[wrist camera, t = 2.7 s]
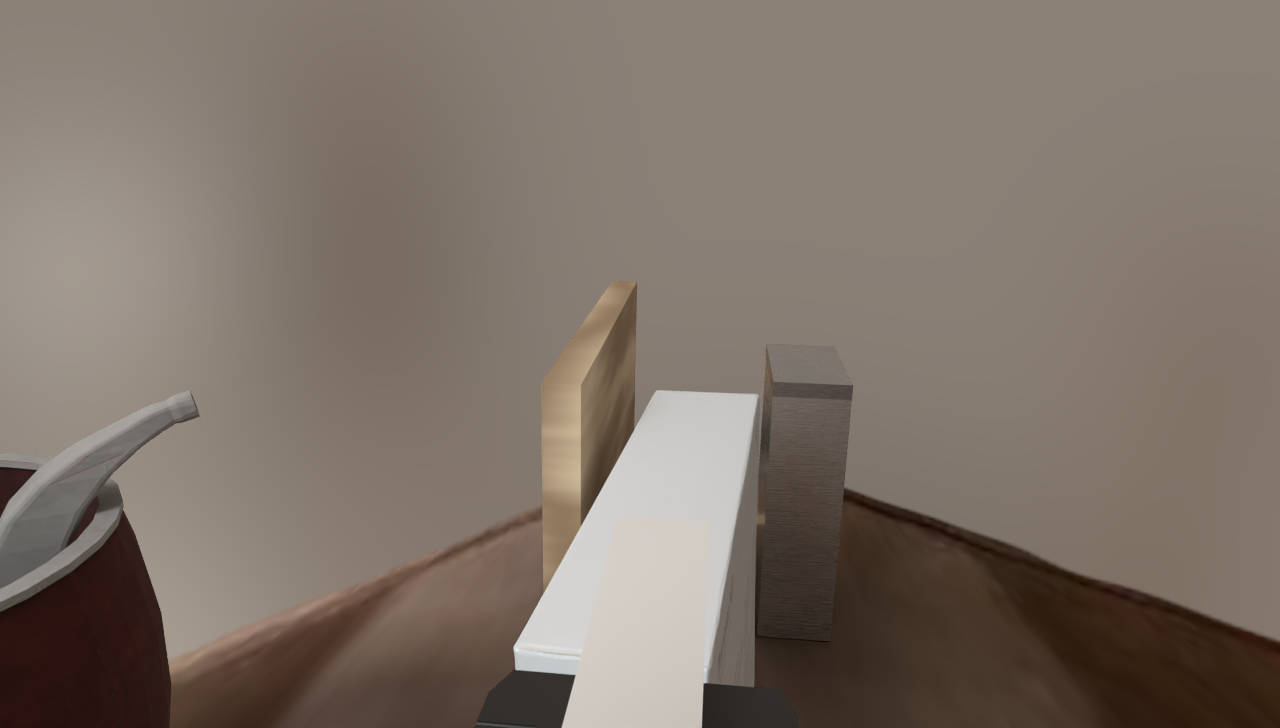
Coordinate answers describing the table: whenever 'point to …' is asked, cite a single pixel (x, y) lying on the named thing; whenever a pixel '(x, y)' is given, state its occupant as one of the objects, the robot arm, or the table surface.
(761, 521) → the grey carton
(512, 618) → the table surface
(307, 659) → the table surface
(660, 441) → the skincare box
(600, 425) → the oak shelf corner
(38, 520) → the mate gourd
